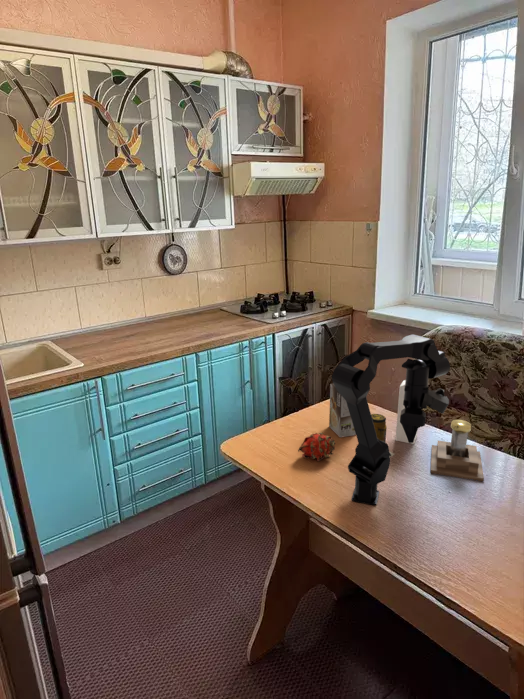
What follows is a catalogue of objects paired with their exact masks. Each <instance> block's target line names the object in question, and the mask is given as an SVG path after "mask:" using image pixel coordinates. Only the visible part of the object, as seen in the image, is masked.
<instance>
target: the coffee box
mask: <svg viewBox="0 0 524 699" xmlns="http://www.w3.org/2000/svg"><path fill="white" fill-rule="evenodd" d="M329 385H330V387H329V388H330V389H329V391H330V392H329V417H328V418H329V419H328V420H329V422H328V427H329V428H330V429H331V430H332V431H333V432H334V433H335V434H336V435H337V436H338V437H339V438H345V437H352V436H356V433H355V430H354V426H353V423H352V419H351V416H350V413H349V409H348V406H347V402H346V400H345V399H344V398H343V397H342V396H341V394H340V393H339V392H338V391H337V389H336V387H335V385H334V384H333V382H332V383H330V384H329Z"/></svg>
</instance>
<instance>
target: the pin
mask: <svg viewBox="0 0 524 699" xmlns="http://www.w3.org/2000/svg"><path fill="white" fill-rule="evenodd" d="M450 429H452V431H451V439H450V442H451V445H450V453H449V455H451V456H458V457H465V450H466V445H467V442H468V435H469V433H470V432H471V430H472V424H471V423H470V422H469V421H466V420H464V419H453V420H451V422H450Z"/></svg>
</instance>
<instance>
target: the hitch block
mask: <svg viewBox="0 0 524 699" xmlns="http://www.w3.org/2000/svg"><path fill="white" fill-rule="evenodd" d="M450 445H451V441H446V440H445V441H443V440H437V445H435V444H432V445H431V456H430V457H431V458H430V474H433V475H441V476H446V477H453V478H459V479H465V480H470V479H473V480H472V481H476V480H478V482H482V481H485V476H484V470H483V462H482V457H481V456H482V455H481V451H478V449H477V445H473V444H472V445H471V444H466V450H465V457H458V456H451V455H449V453H450Z"/></svg>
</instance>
